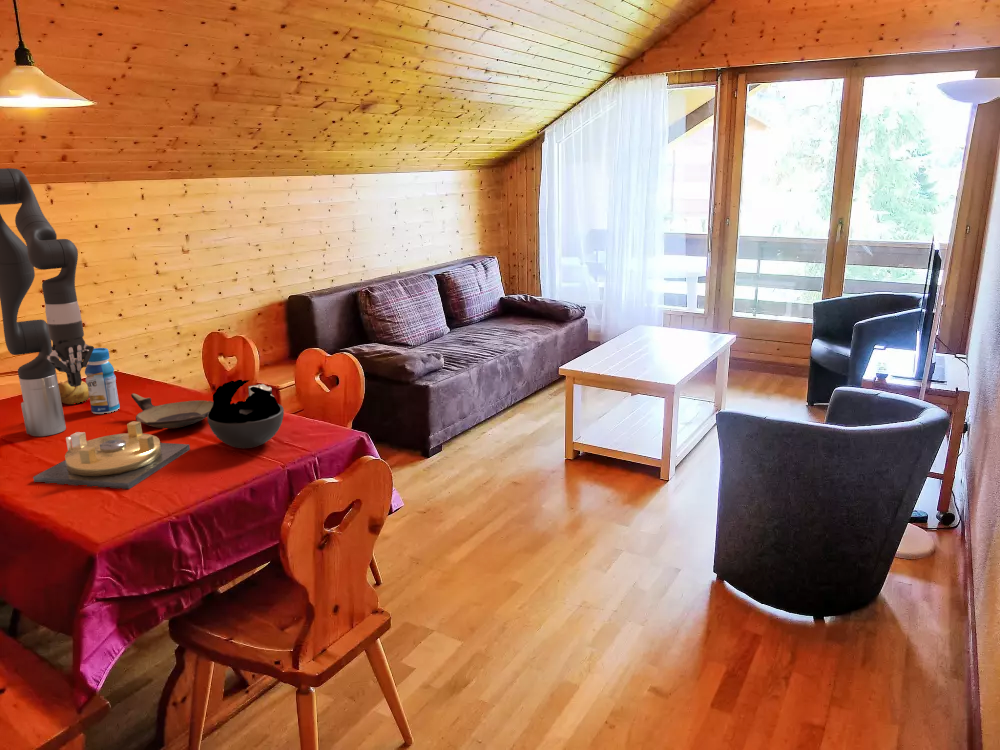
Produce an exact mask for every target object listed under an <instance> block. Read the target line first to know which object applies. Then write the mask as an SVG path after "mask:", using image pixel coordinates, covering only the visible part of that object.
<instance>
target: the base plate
mask: <svg viewBox="0 0 1000 750" xmlns="http://www.w3.org/2000/svg"><path fill="white" fill-rule="evenodd" d="M65 441H66V447H67V451H68V450H70V449H71V448H73V447H72V442H71V436H66V437H65ZM160 447H161V455H160V456H159V457H158V458H157V459H156V460H155V461H153V462H151V463H149V464H147V465H145V466H143V467H140V468H137V469H134V470H130V471H126V472H122V473H117V474H111V475H101V476H84V475H77V474H74V473H71V472H70V471H68V469H67V465H66V460H63V461H61V462H58V463H57V464H55V465H53V466H51V467H49V468H47V469H45V470H43V471H42V472H39V473H38V474H36V475H34V476H33V477H32V479H33V482H34V483H35V482H45V483H44V484H50V483H57V484H56V485H64V484H68V486H78V485H87V486H86V487H92V486H98V487H97V488H106V487H110V488H111V489H120V488H122V489H123V490H130V489H131V488H133V487H135V486H136V485H138V484H139V483H141V482H143V481H144V480H145V479H147V478H149V477H150V476H151V475H153V474H154V473H156V472H158V471H160V470H161V469H162V468H164V467H166V466H167V465H168V464H170V463H172V462H173V461H175V460H176V459H178V458H180V457H181V456H182V455H184V454H185V453H187V452H188V451H190V450H191V446H190V444H186V443H170V442H160Z"/></svg>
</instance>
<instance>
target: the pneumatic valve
mask: <svg viewBox="0 0 1000 750" xmlns="http://www.w3.org/2000/svg"><path fill="white" fill-rule="evenodd" d="M251 387H257V388H261V389H263V390H267V391H269V392H270V393H271V396H273V397H274V398H275V395H273V391H272V387H271V386H267V385H265V383H259V384H253V385H248V387H247V388H248V397H249V396H251V395H252V394H253V393H254V392H252V391H251V389H250V388H251ZM275 399H276V398H275Z"/></svg>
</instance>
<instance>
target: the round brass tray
mask: <svg viewBox="0 0 1000 750" xmlns="http://www.w3.org/2000/svg"><path fill="white" fill-rule="evenodd" d="M126 426H127V427H126V428H127V433H116V434H111V435H103V436H100V437H97V438H92V439H90V440H87V436H86V432H85V431H83V432H82V431H81V432H80V431H75V433H72V434H70V436H69V437H70V439H71V445H72V448H71V449H70V450H68V449H67V451H66V453H65V455H64V458H65V460H66V465H67V469H68V471H70V472H71V473H74V474H77V475H84V476H101V475H111V474H117V473H122V472H126V471H130V470H134V469H137V468H140V467H143V466H145V465H147V464H149V463H151V462H153V461H155V460H156V459H157V458H158V457H159V456H160V455H161V447H160V443H161V441H160V438H159V437H158V436H156V435H152V434H149V433H143V429H142V423H141V422H138V421H130V422H128V423H127V424H126Z"/></svg>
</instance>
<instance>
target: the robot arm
mask: <svg viewBox="0 0 1000 750" xmlns="http://www.w3.org/2000/svg"><path fill="white" fill-rule="evenodd" d="M19 204H21V205H20V207H19V209H18V210H17V212H16V215H15V219H14V223H15V227H16V229H17V231H18V232H19V234H20V236H21V237H22V239H23V240H24V241H23V240H22V239H21V238H20V237H19V236H18V235H17V234H16V233H15V232H14V231H13V230H12V229H11V228H10V226H9V225H8V224H7V223H6V221H5V220H4V218H3V215H1V213H0V308H1V317H2V326H3V334H4V341H5V345H6V348H7V350H8V352H9V353H10V355H14V356H20V355H25V354H26V355H28V354H36V353H37V356H36V357H35V358H34V359H32V360H31V361H28V362H26V363H25V364H22V365H20V366H19V367H18V368H17V375H18V380H19V385H20V390H21V395H22V396H21V397H22V399H23V401H22V402H21V403H20V406H21V411H22V416H23V420H24V427H25V433H26V434H27V435H30V436H33V437H46V436H47V437H48V436H52V435H57V434H59V433H62V432H65V430H66V429H67V426H66V420H65V415H64V409H63V404H62V403H63V402H61V397H60V392H59V386H58V383H59V382H58V376H57V371H58V372H61V373H65V374H66V377H67V380H68V384H69V385H70V386H72V387H76V386H80V385H81V382H82V381H83V379H82V376H81V375H82V374H81V371H82V369H83V368H86V366H87V364H88V361H89V359H90V357H91V354H92V352H93V350H94V348H95V347H94V346H92V345H89V344H87V343H86V340H85V339H84V336H85V332H84V327H83V326H84V325H83V320H82V314H81V308H80V306H79V302H78V296H77V292H76V285H75V284H76V272H77V265H78V259H79V254H78V248H77V246H76V245H75V243H74V242H73V241H72V240H70V239H67V238H58V239H57V233H56V230H55V229H54V227H53V226H52V224H50V221H49V220H48V219H47V218H46V216H45V215H44V213H43V211H42V208H41V205H40V204H39V202H38V199H37V197H36V194H35V193H34V191H33V187H32V185H31V184H30V181H29V180H28V177H27V176H26V174H25V173H24V172H23V171H22V170H20V169H17V168H15V167H14V168H13V167H12V168H11V167H10V168H9V167H8V168H7V167H6V168H2V167H1V168H0V206H6V205H19ZM24 242H25V243H24ZM35 269H37V270H41V271H42V270H43V271H45V270H53V269H54V270H55V269H60V272H59V273H58V275H56V276H53V277H50V278H47V279H45V280H43V281H42V283H41V289H42V294H43V299H44V305H45V318H46V321H45V320H44V319H32V320H23V321H18V315H19V309H20V307H21V305H22V302H23V301H24V298H25V296H26V295H27V293H28V292H29V290H30V288H31V286H32V284H33V282H34V279H35V276H36V275H35V272H36V271H35ZM56 370H57V371H56Z"/></svg>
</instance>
